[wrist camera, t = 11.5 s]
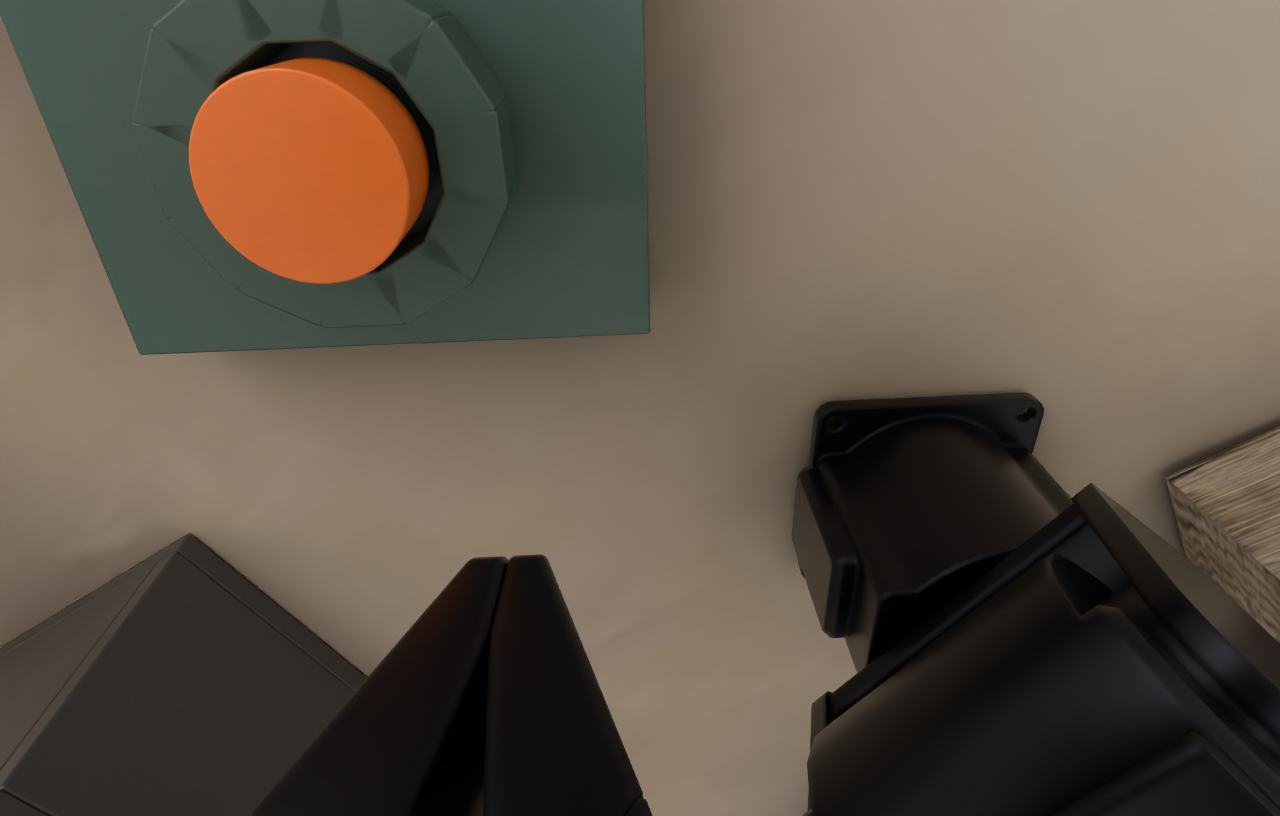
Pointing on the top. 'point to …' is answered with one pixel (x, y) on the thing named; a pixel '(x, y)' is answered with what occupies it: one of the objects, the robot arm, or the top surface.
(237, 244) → the button
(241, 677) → the dark grey lidded case
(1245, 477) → the book
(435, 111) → the control block
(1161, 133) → the top surface
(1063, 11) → the top surface
